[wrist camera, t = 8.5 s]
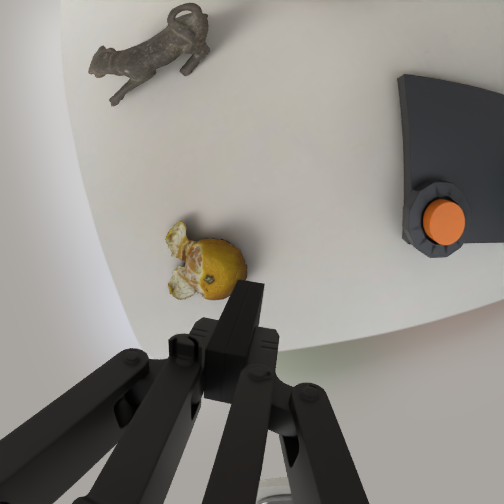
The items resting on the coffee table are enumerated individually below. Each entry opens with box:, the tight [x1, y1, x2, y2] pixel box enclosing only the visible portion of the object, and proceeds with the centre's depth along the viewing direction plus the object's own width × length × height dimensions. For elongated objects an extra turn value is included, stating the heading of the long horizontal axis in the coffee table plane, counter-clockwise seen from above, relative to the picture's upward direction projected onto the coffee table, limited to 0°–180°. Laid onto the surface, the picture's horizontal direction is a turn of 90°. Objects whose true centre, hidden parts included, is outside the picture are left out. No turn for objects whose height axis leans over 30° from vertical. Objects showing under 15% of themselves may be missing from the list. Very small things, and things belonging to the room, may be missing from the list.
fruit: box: [165, 222, 247, 300], centre depth 28 cm, size 8×8×4 cm
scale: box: [397, 74, 504, 258], centre depth 21 cm, size 16×14×4 cm
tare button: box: [423, 199, 465, 245], centre depth 21 cm, size 4×4×2 cm
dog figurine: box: [88, 3, 210, 106], centre depth 20 cm, size 12×6×7 cm, turn 109°
